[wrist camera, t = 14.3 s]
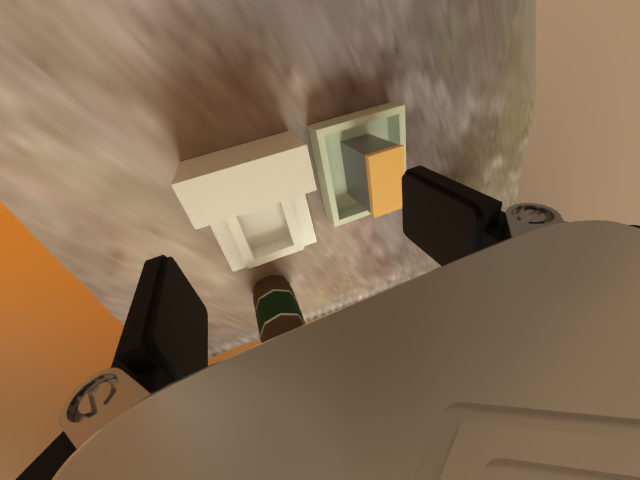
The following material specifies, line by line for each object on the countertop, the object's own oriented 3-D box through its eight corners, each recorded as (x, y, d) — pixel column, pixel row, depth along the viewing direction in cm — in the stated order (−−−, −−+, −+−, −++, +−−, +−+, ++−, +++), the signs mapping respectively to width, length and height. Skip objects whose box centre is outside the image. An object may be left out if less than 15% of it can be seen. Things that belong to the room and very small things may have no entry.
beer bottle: (288, 269, 54) (332, 380, 34) (292, 299, 58) (333, 412, 38) (248, 279, 52) (270, 401, 32) (255, 308, 56) (278, 433, 36)
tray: (306, 125, 42) (316, 130, 38) (389, 102, 44) (405, 104, 40) (325, 216, 51) (334, 227, 47) (393, 192, 53) (406, 201, 49)
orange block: (339, 141, 43) (368, 156, 35) (368, 132, 44) (404, 145, 36) (347, 194, 49) (374, 217, 40) (373, 185, 49) (405, 206, 41)
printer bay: (179, 161, 38) (171, 184, 30) (288, 130, 41) (306, 144, 33) (232, 268, 50) (236, 306, 42) (315, 239, 52) (334, 269, 44)
